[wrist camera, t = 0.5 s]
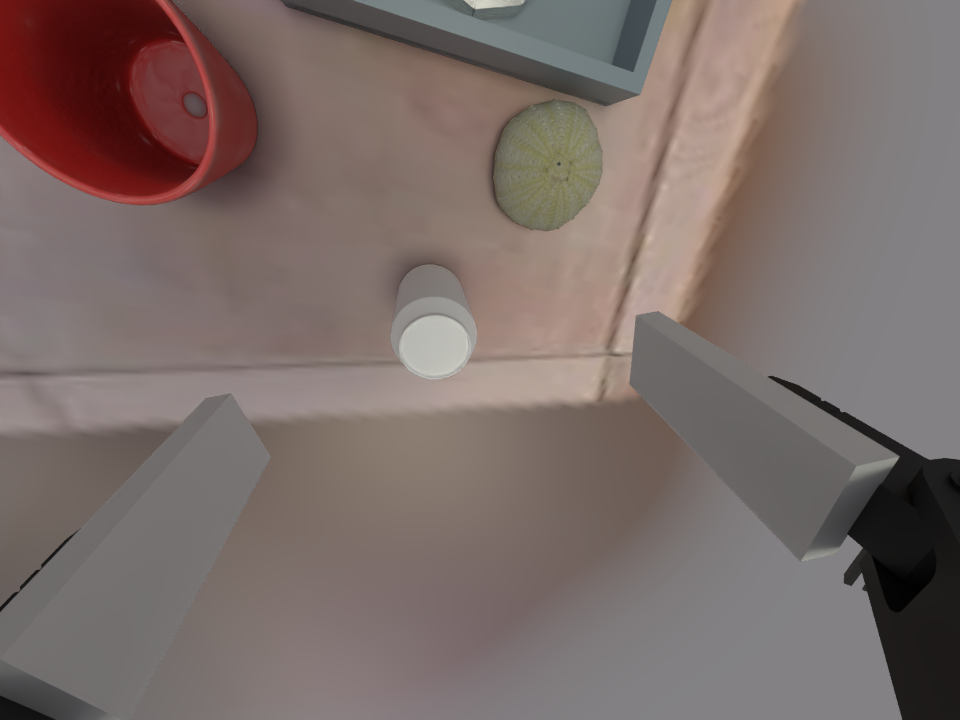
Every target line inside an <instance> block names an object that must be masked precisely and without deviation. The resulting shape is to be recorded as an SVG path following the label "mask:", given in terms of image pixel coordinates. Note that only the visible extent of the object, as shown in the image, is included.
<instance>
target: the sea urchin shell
mask: <svg viewBox="0 0 960 720" xmlns="http://www.w3.org/2000/svg"><path fill="white" fill-rule="evenodd" d="M602 152H603V151H602V150H601V146H600V143H599V140H598V134H597V128H596V127H595V126H594V124H593V122H592V120H591V119H590V116H589V115H588V113H587V111H586V110H585V109H583V108H582V107H581V106H579V105H577V104H576V103H575V102H574V103H571V102H565V101H557V100H554V99H553V100H551V101H549V102H545V103H542V104H537V105H531V106H529V108H527V109H525V110H522V112H521V113H519V114H518V115H516V116H515V117H513V118H512V119H511V120H510V121H509V123H508V124H507V125H506V127H505V128H504V130H503V132H502V135H501V137H500V141H499V144H498V146H497V149H496V151H495V157H494V158H495V166H494V171H493V177H492V178H493V179H494V186H495V195H496V199H497V201H498V204H499V206H500V208H501V209H502V210H503V211H504V212H505V213H506V215H508V216H509V217H510V218H511V219H512V221H514V222H516V223H518V224H520V225H523V226H525V227H526V228H529V229H531V230H534V229H536V230H543V231H550V230H554V229H559V228H560V227H561V226H563V225H564V224H565V223H567V222H568V221H570V220H572V219H573V218H574V217H575V216H576V215H577V214H578V213H579V211H580V210H581V209H582V208H583V207H585V206H586V205H587V203H589V201H590V199H591V197H592V195H593V194H594V192H595V190H596V189H597V186H598V185H599V183H600V179H601V175H602V173H603V171H602Z"/></svg>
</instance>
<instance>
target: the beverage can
mask: <svg viewBox="0 0 960 720" xmlns="http://www.w3.org/2000/svg"><path fill="white" fill-rule="evenodd" d="M476 341H477V329H476V325H475V322H474V319H473V316H472V314H471V311H470V308H469V305H468V302H467V300H466V297H465V294H464V291H463V289H462V286H461V284H460V282H459V280H458V279H457V277H456V276H455V275H454V274H453V273H452V272H451V271H449V270H448V269H446V268H444V267H442V266H439V265H434V264H426V265H421V266H418V267H416V268H414V269H412V270H411V271H409V272H408V273H407V274H406V275H405V277H404V278H403V280H402V281H401V283H400V286H399V290H398V294H397V300H396V305H395V310H394V316H393V321H392V327H391V344H392V347H393V350H394V352H395V354H396V356H397V357H398V358H399V360H400V361H401V362H402V363H403V364H404V365H405V366H406V368H407V369H408V370H410V371H411V372H412V373H414V374H415V375H417V376H419V377H422V378H426V379H443V378H447V377H450V376H452V375H454V374H456V373H457V372H458V371H460V370H461V369H462V368H463V367H464V366H465V364H466V363H467V361H468V359H469V357H470V356H471V354H472V353H473V351H474V348H475V345H476Z"/></svg>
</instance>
